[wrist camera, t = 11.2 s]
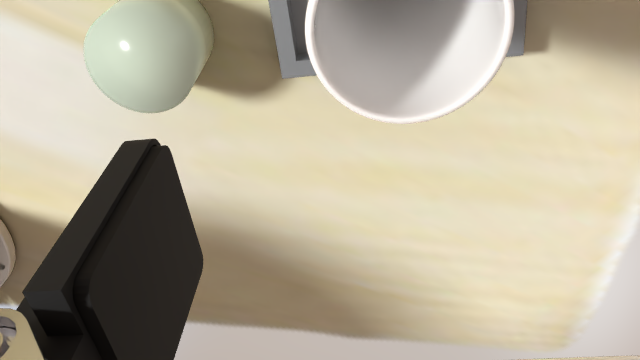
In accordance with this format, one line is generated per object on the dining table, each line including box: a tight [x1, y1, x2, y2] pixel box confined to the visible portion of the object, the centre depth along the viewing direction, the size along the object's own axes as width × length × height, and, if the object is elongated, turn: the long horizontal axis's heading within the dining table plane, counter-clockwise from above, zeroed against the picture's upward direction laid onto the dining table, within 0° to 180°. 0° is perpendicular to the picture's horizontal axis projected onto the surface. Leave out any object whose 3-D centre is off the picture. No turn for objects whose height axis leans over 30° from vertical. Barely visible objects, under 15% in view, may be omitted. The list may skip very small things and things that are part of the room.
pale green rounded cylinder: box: [84, 0, 214, 113], centre depth 33 cm, size 6×6×5 cm
